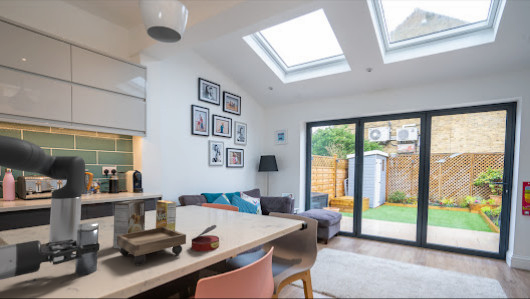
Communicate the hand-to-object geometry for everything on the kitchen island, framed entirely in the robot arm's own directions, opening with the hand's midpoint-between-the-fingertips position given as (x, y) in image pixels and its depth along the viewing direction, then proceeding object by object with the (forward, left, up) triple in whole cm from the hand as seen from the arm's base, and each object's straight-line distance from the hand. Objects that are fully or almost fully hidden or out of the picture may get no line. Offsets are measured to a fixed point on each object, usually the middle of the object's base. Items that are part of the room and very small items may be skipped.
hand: (95, 244), depth 72 cm
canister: (0, -2, -7) cm, 7 cm away
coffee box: (-17, +15, -7) cm, 24 cm away
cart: (0, +16, -7) cm, 17 cm away
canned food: (+6, +33, -7) cm, 34 cm away
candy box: (-13, +27, -7) cm, 31 cm away
